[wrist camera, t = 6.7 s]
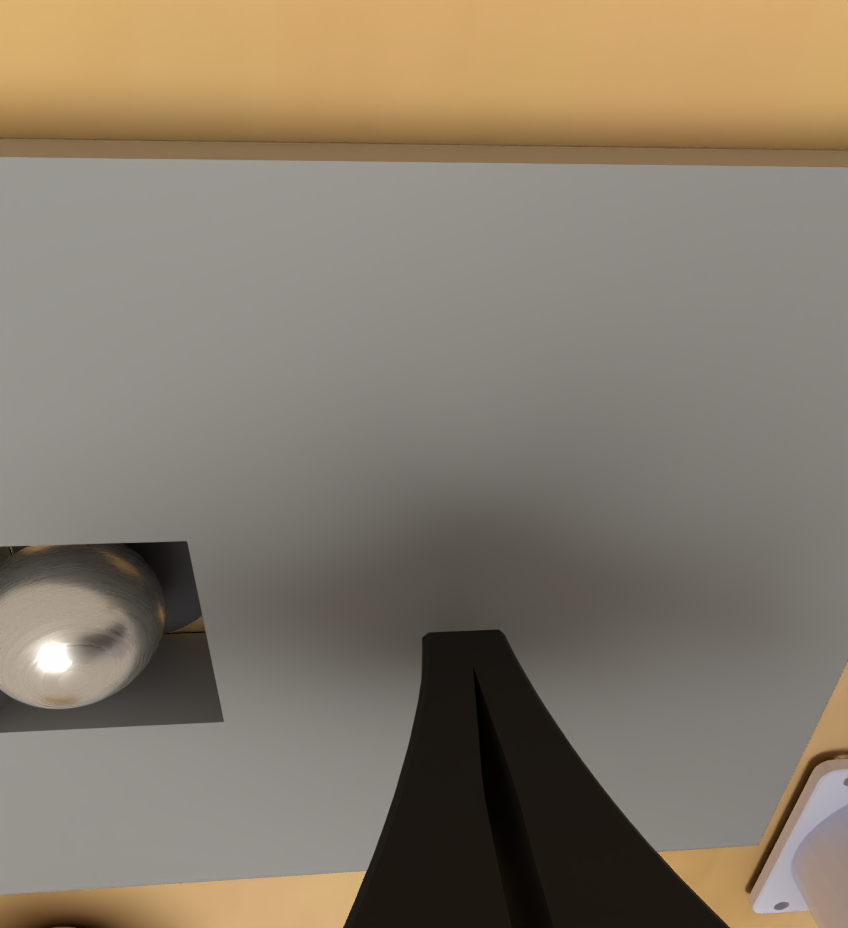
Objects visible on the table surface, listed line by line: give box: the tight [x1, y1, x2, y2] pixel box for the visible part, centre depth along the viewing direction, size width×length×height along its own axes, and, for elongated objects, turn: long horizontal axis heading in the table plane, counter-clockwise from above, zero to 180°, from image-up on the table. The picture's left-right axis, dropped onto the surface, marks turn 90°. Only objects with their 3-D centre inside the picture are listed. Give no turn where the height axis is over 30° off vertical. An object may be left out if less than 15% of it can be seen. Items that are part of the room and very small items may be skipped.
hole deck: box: [0, 138, 848, 895], centre depth 13 cm, size 20×16×2 cm
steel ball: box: [0, 543, 165, 709], centre depth 12 cm, size 3×3×3 cm
